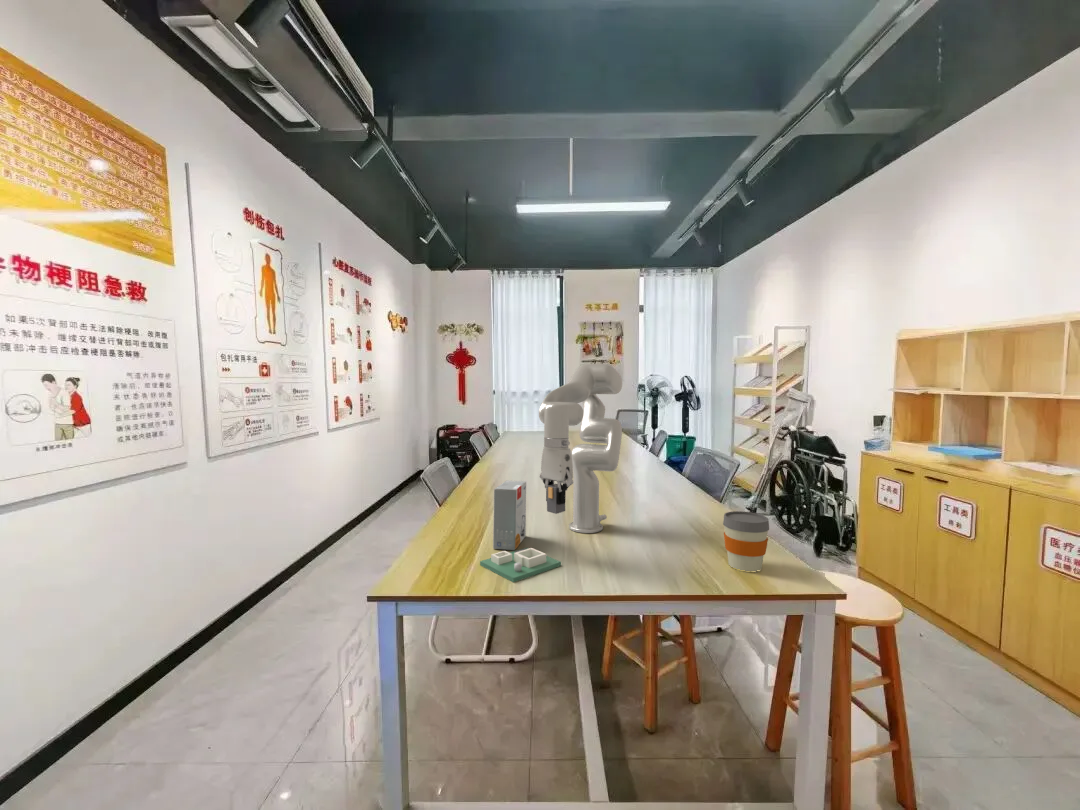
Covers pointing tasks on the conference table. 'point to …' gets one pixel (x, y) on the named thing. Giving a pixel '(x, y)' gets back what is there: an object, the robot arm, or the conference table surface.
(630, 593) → the conference table surface
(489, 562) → the board
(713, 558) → the conference table surface
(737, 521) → the reusable coffee cup
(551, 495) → the plug
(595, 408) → the robot arm
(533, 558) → the frame
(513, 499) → the hard drive box
